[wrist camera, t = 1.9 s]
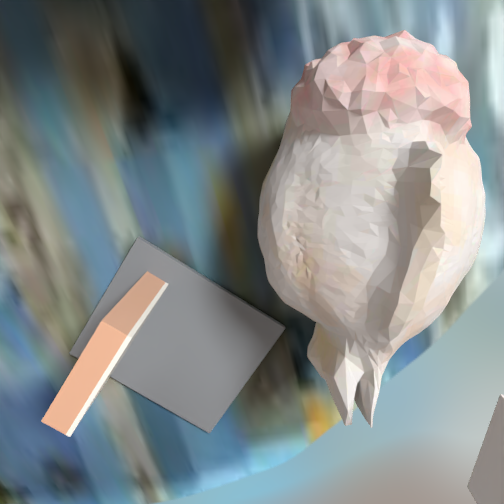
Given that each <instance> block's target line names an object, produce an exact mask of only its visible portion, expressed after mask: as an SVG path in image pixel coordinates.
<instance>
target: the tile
mask: <svg viewBox="0 0 504 504" xmlns="http://www.w3.org/2000/svg"><path fill="white" fill-rule="evenodd" d="M167 286H168V283H166V282H164V281H163V280H161V279H159V278H158V277H156V276H154V275H153V274H151V273H149V272H148V271H147V272H146V273H145V274H144V275H143V276H142V277H141V278H140V279H139V281H138V282H137V283H136V284H135V285H134V286H133V287H132V288H131V289H130V290H129V291H128V292H127V294H126V295H125V296H124V297H123V298H122V299H121V300H120V301H119V302H118V303H117V304H116V305H115V307H114V308H113V309H112V310H111V311H110V312H109V313H108V314H107V315H106V316H105V317H104V318H103V320H102V321H101V322H100V324H99V326H98V327H97V329H96V331H95V332H94V334H93V336H92V337H91V339H90V341H89V342H88V344H87V346H86V347H85V349H84V351H83V352H82V354H81V356H80V357H79V359H78V361H77V362H76V364H75V366H74V367H73V369H72V371H71V372H70V374H69V376H68V377H67V379H66V381H65V382H64V384H63V386H62V387H61V389H60V391H59V392H58V394H57V396H56V397H55V399H54V401H53V402H52V404H51V406H50V407H49V409H48V411H47V412H46V414H45V416H44V417H43V419H42V421H41V422H43V423H45V424H47V425H49V426H50V427H52V428H54V429H56V430H58V431H60V432H61V433H63V434H65V435H67V436H69V437H70V436H71V435H72V433H73V432H74V430H75V429H76V427H77V426H78V424H79V423H80V421H81V420H82V418H83V417H84V415H85V414H86V412H87V411H88V409H89V408H90V406H91V405H92V403H93V402H94V400H95V398H96V397H97V395H98V394H99V392H100V391H101V389H102V388H103V386H104V385H105V383H106V382H107V380H108V379H109V377H110V376H111V374H112V373H113V371H114V370H115V368H116V367H117V365H118V364H119V362H120V361H121V359H122V358H123V356H124V355H125V353H126V351H127V350H128V348H129V347H130V345H131V343H132V342H133V340H134V339H135V337H136V335H137V334H138V332H139V331H140V329H141V327H142V326H143V324H144V323H145V321H146V320H147V318H148V316H149V315H150V313H151V312H152V310H153V308H154V307H155V305H156V304H157V302H158V300H159V299H160V297H161V296H162V294H163V292H164V291H165V289H166V288H167Z"/></svg>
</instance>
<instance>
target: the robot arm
mask: <svg viewBox="0 0 504 504" xmlns="http://www.w3.org/2000/svg"><path fill="white" fill-rule="evenodd" d="M467 487H468V489H469V491H470V492H471V494H472V496H473V497H474V499H475V501H476V503H477V504H504V395H500V396H499V399H498V402H497V405H496V407H495V410H494V413H493V416H492V419H491V421H490V424H489V427H488V430H487V433H486V435H485V438H484V441H483V444H482V447H481V449H480V452H479V455H478V458H477V461H476V463H475V466H474V469H473V472H472V475H471V477H470V480H469V483H468V486H467Z"/></svg>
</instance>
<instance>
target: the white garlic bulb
mask: <svg viewBox="0 0 504 504" xmlns="http://www.w3.org/2000/svg"><path fill="white" fill-rule="evenodd" d="M471 127H472V125H471V121H470V95H469V84H468V81H467V80H466V79H465V78H464V76H463V75H462V74H461V73H460V71H459V70H458V68H457V63H456V62H454V61H453V60H452V59H450V58H449V57H448V56H446V55H441V54H439V53H438V52H437V50H436V49H435V47H434V46H433V45H431V44H429V43H425V42H423V41H420V40H418V39H415V38H414V37H413V36H412V35H410V34H409V33H408V32H407V31H406V30H403V31H400V32H398V33H395V34H392V35H389V36H386V37H379V36H370V37H364V38H359V39H357V38H354V39H353V40H352V41H351V42H345V43H340V44H338V45H336V46H334V47H333V48H331V49H329V50H328V51H327V52H326V54H325V55H324V56H323V58H322V59H315V60H313V61H311V62H309V63H307V64H305V67H304V71H303V75H302V78H301V80H300V81H299V82H298V83H297V84H296V85H295V86H294V88H293V89H292V91H291V110H290V113H289V116H288V119H287V121H286V124H285V129H284V134H283V138H282V140H281V144H280V147H279V150H278V153H277V155H276V156H275V158H274V160H273V162H272V165H271V167H270V169H269V171H268V173H267V175H266V178H265V180H264V182H263V185H262V190H261V195H260V202H259V216H258V240H259V245H260V248H261V251H262V254H263V256H264V260H265V268H266V274H267V278H268V281H269V283H270V284H271V286H272V287H273V288H274V290H275V291H276V293H277V294H278V295H279V297H280V298H281V299H282V300H283V302H284V303H286V304H287V305H289V306H291V307H292V308H294V309H296V310H297V311H299V312H301V313H302V314H304V315H306V316H307V317H309V318H310V319H312V320H313V321H315V322H316V325H315V329H314V334H313V337H312V339H311V341H310V343H309V345H308V351H307V357H308V358H309V360H310V361H311V363H312V364H313V366H314V367H315V368H316V370H317V371H318V373H319V374H320V376H321V377H322V378H324V379H326V382H327V385H328V388H329V390H330V393H331V395H332V398H333V400H334V402H335V404H336V406H337V409H338V411H339V413H340V415H341V418H342V420H343V422H344V424H345V426H346V425H351V424H352V414H353V403H354V400H355V402H356V404H357V406H358V408H359V409H360V411H361V412H362V414H363V416H364V417H365V419H366V421H367V422H368V423H369V424H370V427H371V428H372V423H373V413H374V410H375V406H376V402H377V398H378V395H379V390H380V384H381V378H382V374H383V372H384V370H385V368H386V365H387V363H388V361H389V359H390V358H391V357H392V355H393V354H394V353H395V352H396V350H397V349H398V348H399V347H400V346H401V345H402V344H403V343H405V342H406V341H407V340H409V339H410V338H412V337H413V336H415V335H417V334H418V333H420V332H421V331H422V330H424V329H425V328H426V327H428V326H429V325H430V324H431V323H432V322H433V321H434V320H435V319H436V318H437V317H438V316H439V315H440V314H441V313H442V311H443V310H444V308H445V307H446V305H447V304H448V302H449V300H450V297H451V296H452V294H453V293H454V291H455V290H456V288H457V287H458V285H459V284H460V282H461V280H462V279H463V277H464V276H465V275H466V274H467V273H468V271H469V270H470V269H471V267H472V265H473V263H474V261H475V259H476V256H477V254H478V250H479V247H480V244H481V239H482V234H483V229H484V223H485V213H486V211H485V191H484V187H483V183H482V174H481V164H480V160H479V157H478V156H477V154H476V153H475V152H474V151H473V149H472V148H471V146H470V144H469V143H468V141H467V138H466V133H467V132H468V131H469V129H470V128H471Z"/></svg>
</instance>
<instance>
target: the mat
mask: <svg viewBox="0 0 504 504" xmlns="http://www.w3.org/2000/svg"><path fill="white" fill-rule="evenodd" d="M147 271H148V272H149V273H151V274H153V275H154V276H156V277H158V278H159V279H161V280H163V281H164V282H166V283H168V286H167V288H166V289H165V291H164V292H163V294H162V296H161V297H160V299H159V300H158V302H157V304H156V305H155V307H154V308H153V310H152V312H151V313H150V315H149V316H148V318H147V320H146V321H145V323H144V324H143V326H142V327H141V329H140V331H139V332H138V334H137V335H136V337H135V339H134V340H133V342H132V343H131V345H130V347H129V348H128V350H127V351H126V353H125V355H124V356H123V358H122V359H121V361H120V362H119V364H118V365H117V367H116V368H115V370H114V371H113V373H112V374H111V376H110V377H112V378H113V379H115V380H117V381H119V382H120V383H122V384H124V385H126V386H127V387H129V388H131V389H133V390H134V391H136V392H138V393H140V394H141V395H143V396H145V397H147V398H148V399H150V400H152V401H154V402H155V403H157V404H159V405H161V406H162V407H164V408H166V409H168V410H169V411H171V412H173V413H175V414H176V415H178V416H180V417H182V418H183V419H185V420H187V421H189V422H190V423H192V424H194V425H196V426H198V427H199V428H201V429H203V430H205V431H206V432H208V433H210V432H211V431H212V429H213V428H214V427H215V425H216V424H217V422H218V421H219V420H220V418H221V417H222V416H223V414H224V413H225V411H226V410H227V409H228V407H229V406H230V404H231V403H232V402H233V400H234V399H235V398H236V396H237V395H238V393H239V392H240V391H241V389H242V388H243V386H244V385H245V384H246V382H247V381H248V380H249V378H250V377H251V375H252V374H253V373H254V371H255V370H256V368H257V367H258V366H259V364H260V363H261V362H262V360H263V359H264V357H265V356H266V355H267V353H268V352H269V350H270V349H271V348H272V346H273V345H274V344H275V342H276V341H277V339H278V338H279V337H280V335H281V334H282V332H283V331H284V330H285V325H283V324H281V323H280V322H278V321H276V320H275V319H273V318H272V317H270V316H268V315H267V314H265V313H263V312H262V311H260V310H259V309H257V308H255V307H254V306H252V305H250V304H249V303H247V302H246V301H244V300H242V299H241V298H239V297H237V296H236V295H234V294H233V293H231V292H229V291H228V290H226V289H224V288H223V287H221V286H220V285H218V284H216V283H215V282H213V281H211V280H210V279H208V278H207V277H205V276H203V275H202V274H200V273H199V272H197V271H195V270H194V269H192V268H190V267H189V266H187V265H186V264H184V263H182V262H181V261H179V260H177V259H176V258H174V257H173V256H171V255H169V254H168V253H166V252H164V251H163V250H161V249H160V248H158V247H156V246H155V245H153V244H151V243H150V242H148V241H147V240H145V239H143V238H142V237H140V236H139V237H138V238H137V239H136V241H135V243H134V244H133V246H132V248H131V249H130V251H129V253H128V255H127V256H126V258H125V260H124V261H123V263H122V265H121V266H120V268H119V270H118V271H117V273H116V275H115V277H114V278H113V280H112V282H111V283H110V285H109V287H108V288H107V290H106V292H105V293H104V295H103V297H102V299H101V300H100V302H99V304H98V305H97V307H96V309H95V310H94V312H93V314H92V315H91V317H90V319H89V321H88V322H87V324H86V326H85V327H84V329H83V331H82V332H81V334H80V336H79V337H78V339H77V341H76V343H75V344H74V346H73V348H72V349H71V351H70V353H69V354H71V355H73V356H75V357H76V358H78V359H79V357H80V356H81V354H82V352H83V351H84V349H85V347H86V346H87V344H88V342H89V341H90V339H91V337H92V336H93V334H94V332H95V331H96V329H97V327H98V326H99V324H100V322H101V321H102V320H103V318H104V317H105V316H106V315H107V314H108V313H109V312H110V311H111V310H112V309H113V308H114V307H115V305H116V304H117V303H118V302H119V301H120V300H121V299H122V298H123V297H124V296H125V295H126V294H127V292H128V291H129V290H130V289H131V288H132V287H133V286H134V285H135V284H136V283H137V282H138V281H139V279H140V278H141V277H142V276H143V275H144V274H145V273H146V272H147Z"/></svg>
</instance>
